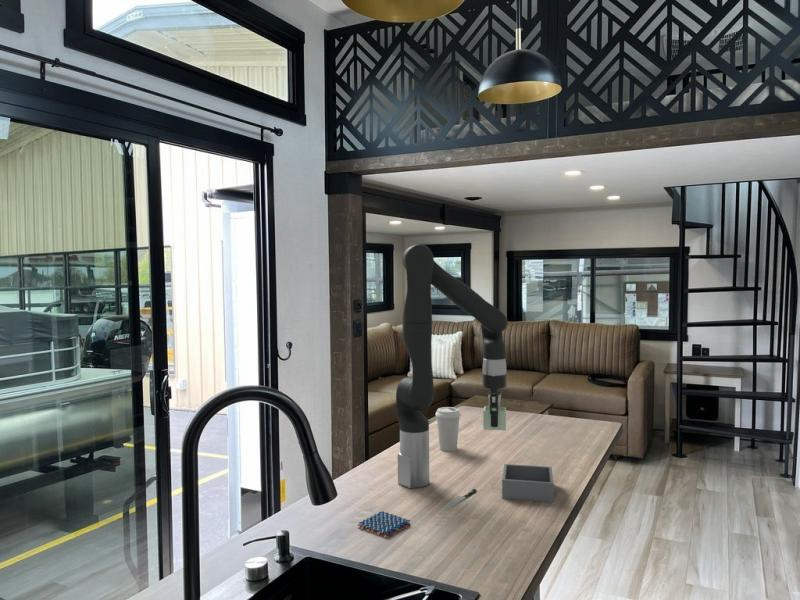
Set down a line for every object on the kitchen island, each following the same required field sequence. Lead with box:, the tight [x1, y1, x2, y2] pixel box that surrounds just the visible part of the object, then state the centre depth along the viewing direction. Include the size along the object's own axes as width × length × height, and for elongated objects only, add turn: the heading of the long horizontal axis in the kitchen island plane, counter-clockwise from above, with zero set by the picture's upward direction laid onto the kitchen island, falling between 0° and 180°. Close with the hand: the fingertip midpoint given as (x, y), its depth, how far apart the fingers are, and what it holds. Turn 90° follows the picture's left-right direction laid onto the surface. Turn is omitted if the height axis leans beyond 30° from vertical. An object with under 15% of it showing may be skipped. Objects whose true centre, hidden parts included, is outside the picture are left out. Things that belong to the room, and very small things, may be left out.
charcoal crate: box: [501, 463, 554, 503], centre depth 176 cm, size 15×15×6 cm
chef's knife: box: [444, 488, 478, 512], centre depth 169 cm, size 19×1×3 cm
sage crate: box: [482, 406, 507, 431], centre depth 186 cm, size 6×7×6 cm
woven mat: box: [357, 510, 411, 539], centre depth 152 cm, size 10×11×2 cm
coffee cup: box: [435, 406, 462, 452], centre depth 218 cm, size 10×10×15 cm
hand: (494, 423), depth 186 cm, fingers closed on sage crate, 6 cm apart
